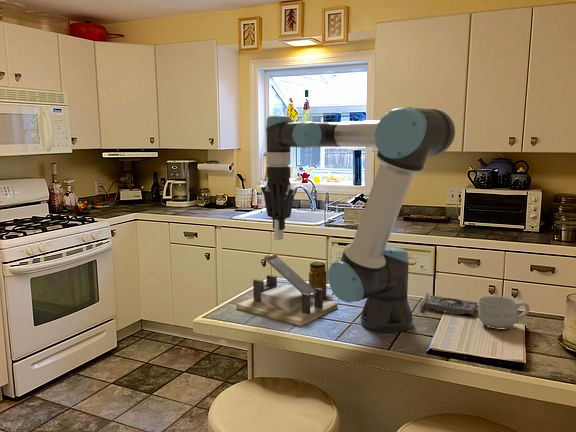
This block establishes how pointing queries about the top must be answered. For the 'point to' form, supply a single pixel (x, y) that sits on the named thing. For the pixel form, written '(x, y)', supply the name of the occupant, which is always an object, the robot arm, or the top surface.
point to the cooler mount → (285, 302)
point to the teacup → (500, 311)
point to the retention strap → (290, 275)
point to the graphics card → (448, 304)
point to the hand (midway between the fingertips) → (278, 239)
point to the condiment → (319, 278)
